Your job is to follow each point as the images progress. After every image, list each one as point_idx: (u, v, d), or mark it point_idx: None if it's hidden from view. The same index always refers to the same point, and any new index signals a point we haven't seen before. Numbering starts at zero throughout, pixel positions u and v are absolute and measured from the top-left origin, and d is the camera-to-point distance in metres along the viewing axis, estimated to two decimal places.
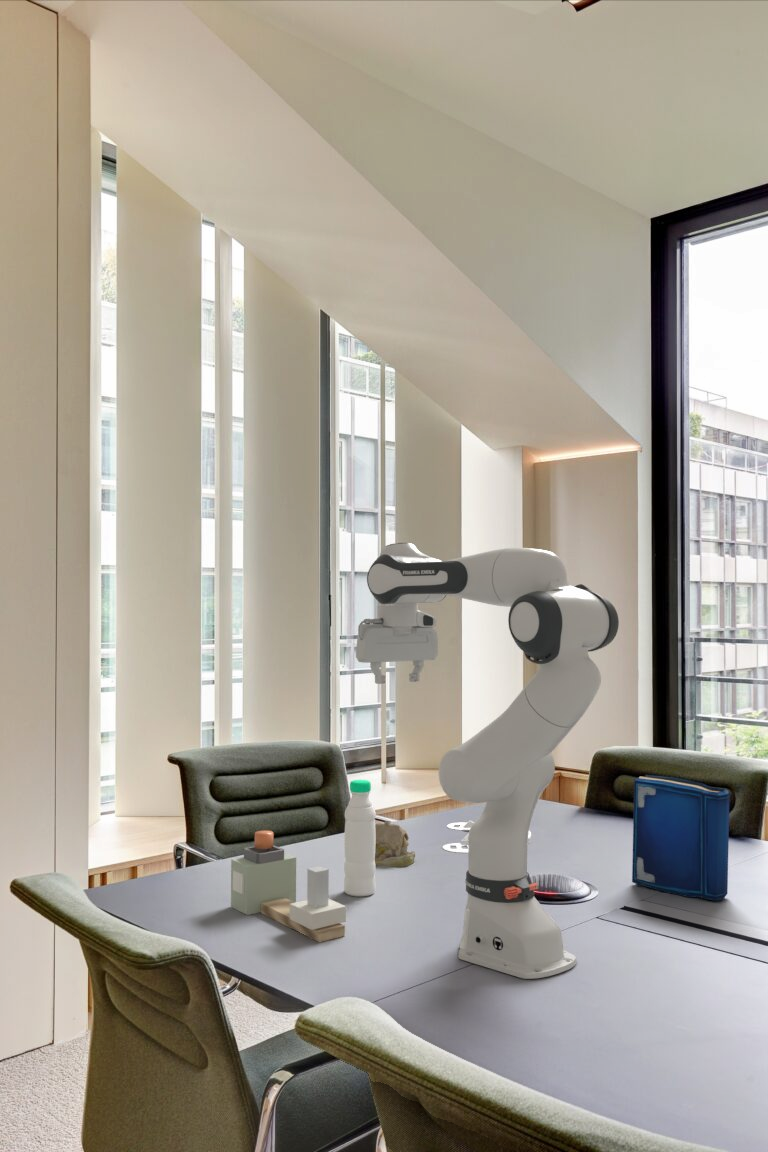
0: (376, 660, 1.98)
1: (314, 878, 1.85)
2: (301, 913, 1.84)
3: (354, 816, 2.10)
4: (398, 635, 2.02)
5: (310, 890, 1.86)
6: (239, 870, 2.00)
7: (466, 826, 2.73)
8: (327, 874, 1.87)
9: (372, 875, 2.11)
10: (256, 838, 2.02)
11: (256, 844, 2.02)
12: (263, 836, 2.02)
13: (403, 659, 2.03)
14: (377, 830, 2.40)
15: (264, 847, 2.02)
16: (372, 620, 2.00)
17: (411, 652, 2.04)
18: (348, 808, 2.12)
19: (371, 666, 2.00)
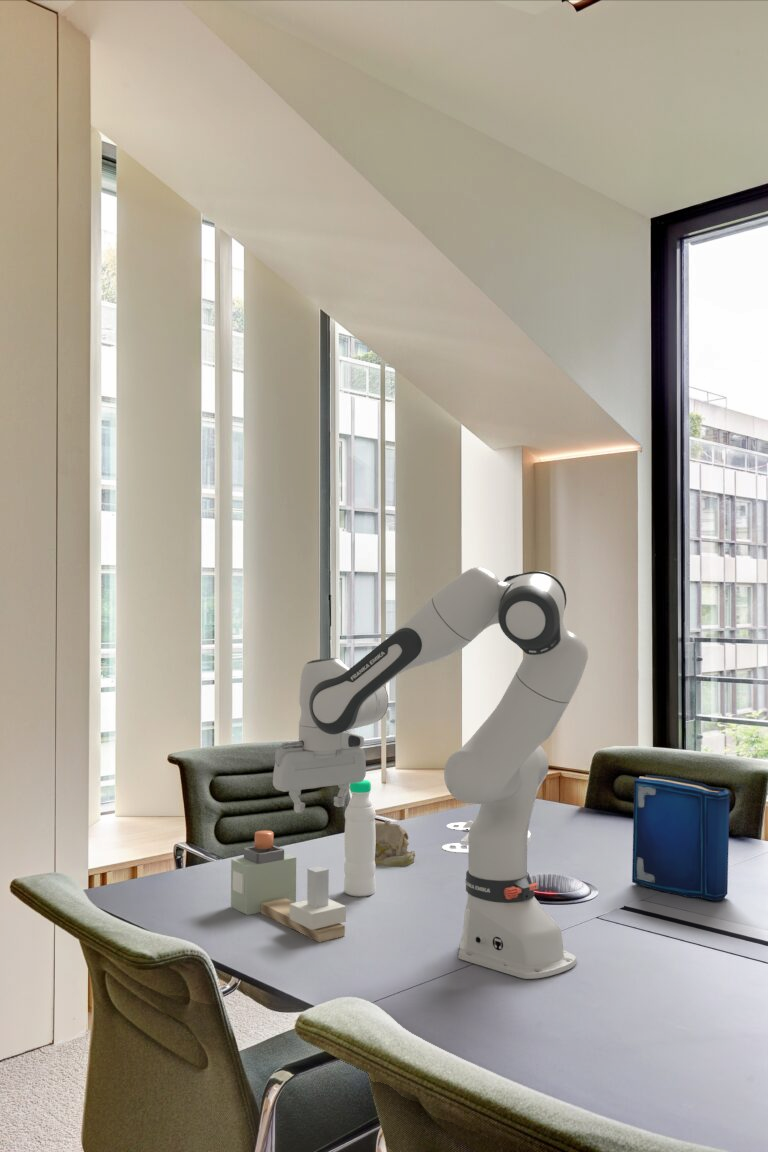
0: (294, 788, 1.82)
1: (314, 878, 1.85)
2: (301, 913, 1.84)
3: (354, 816, 2.10)
4: (320, 759, 1.86)
5: (310, 890, 1.86)
6: (239, 870, 2.00)
7: (465, 826, 2.73)
8: (327, 874, 1.87)
9: (372, 875, 2.11)
10: (256, 838, 2.02)
11: (256, 844, 2.02)
12: (263, 836, 2.02)
13: (325, 784, 1.87)
14: (377, 830, 2.41)
15: (264, 847, 2.02)
16: (291, 744, 1.84)
17: (335, 775, 1.88)
18: (348, 808, 2.12)
19: (290, 793, 1.85)
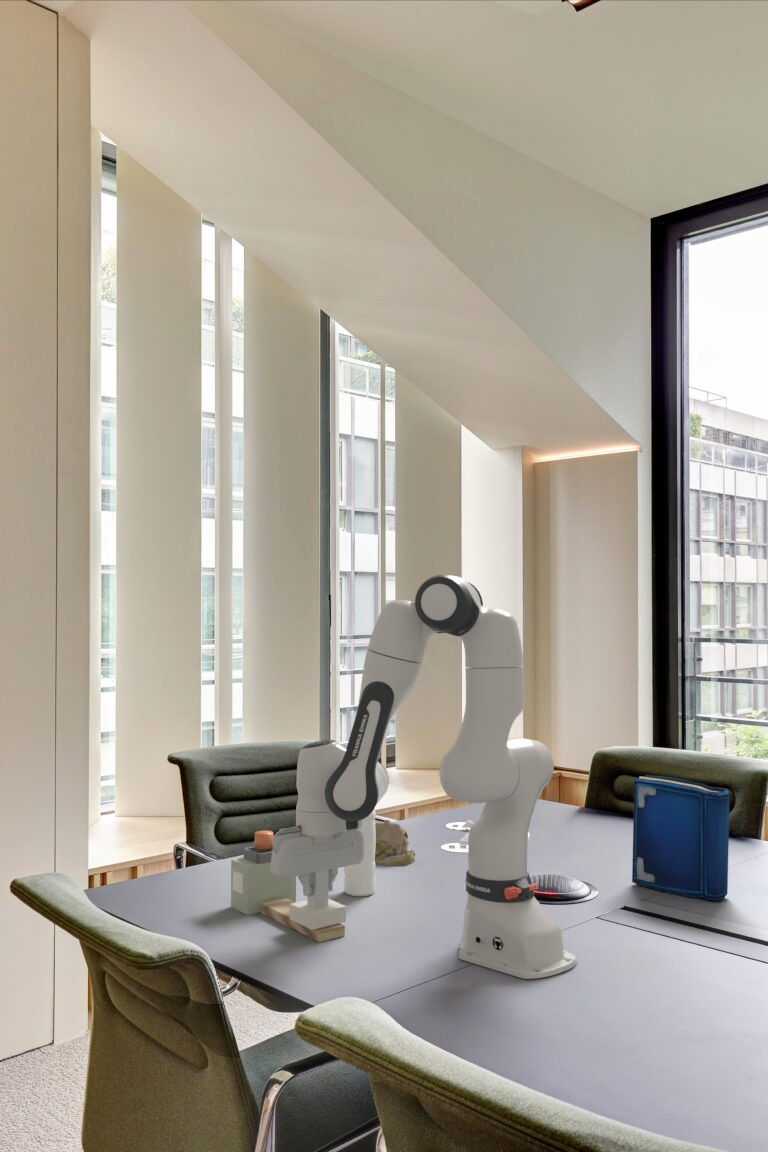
0: (292, 875, 1.81)
1: (314, 878, 1.85)
2: (301, 913, 1.84)
3: None
4: (318, 843, 1.85)
5: None
6: (239, 870, 2.00)
7: (465, 826, 2.73)
8: (327, 874, 1.87)
9: (373, 875, 2.11)
10: (256, 838, 2.02)
11: (256, 844, 2.02)
12: (263, 836, 2.02)
13: (324, 869, 1.86)
14: (377, 829, 2.41)
15: (264, 847, 2.02)
16: (288, 830, 1.83)
17: (333, 859, 1.87)
18: None
19: (299, 877, 1.85)
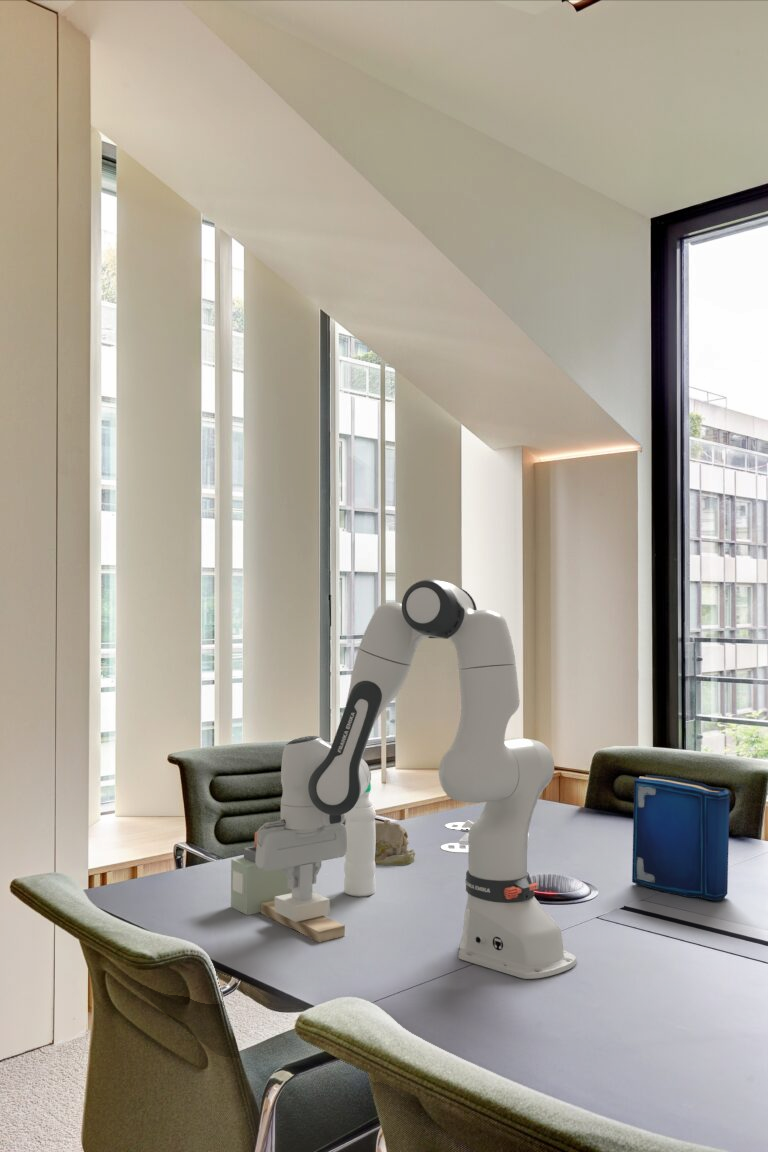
0: (276, 868, 1.86)
1: (298, 872, 1.90)
2: (286, 905, 1.89)
3: (354, 816, 2.10)
4: (302, 837, 1.90)
5: None
6: (239, 870, 2.00)
7: (464, 826, 2.73)
8: (311, 868, 1.91)
9: (372, 875, 2.11)
10: (256, 838, 2.02)
11: (256, 844, 2.02)
12: None
13: (307, 862, 1.90)
14: (377, 829, 2.41)
15: None
16: (273, 823, 1.87)
17: (317, 852, 1.92)
18: None
19: (283, 869, 1.90)
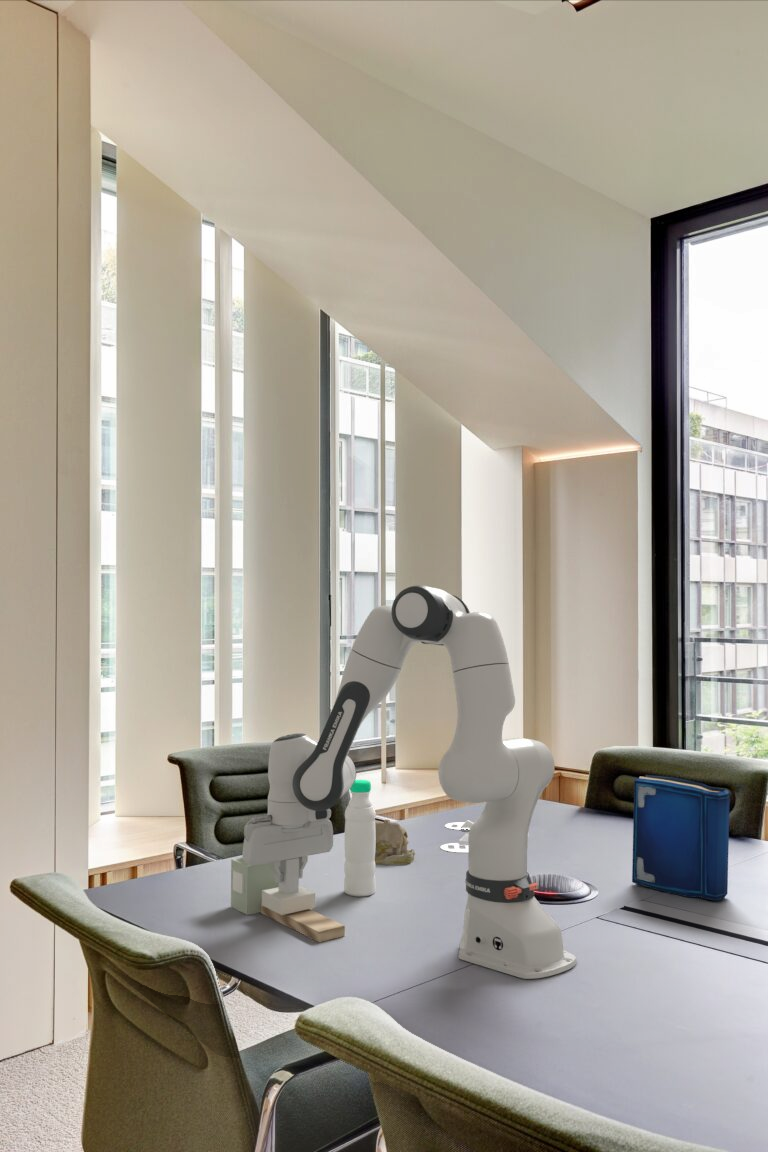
0: (263, 862, 1.90)
1: (285, 866, 1.94)
2: (272, 899, 1.93)
3: (354, 816, 2.10)
4: (288, 832, 1.94)
5: None
6: (239, 870, 2.00)
7: (464, 826, 2.73)
8: (297, 862, 1.95)
9: (373, 875, 2.11)
10: None
11: None
12: None
13: (294, 856, 1.95)
14: (377, 829, 2.42)
15: None
16: (260, 819, 1.91)
17: (303, 847, 1.96)
18: (348, 808, 2.12)
19: (270, 864, 1.94)
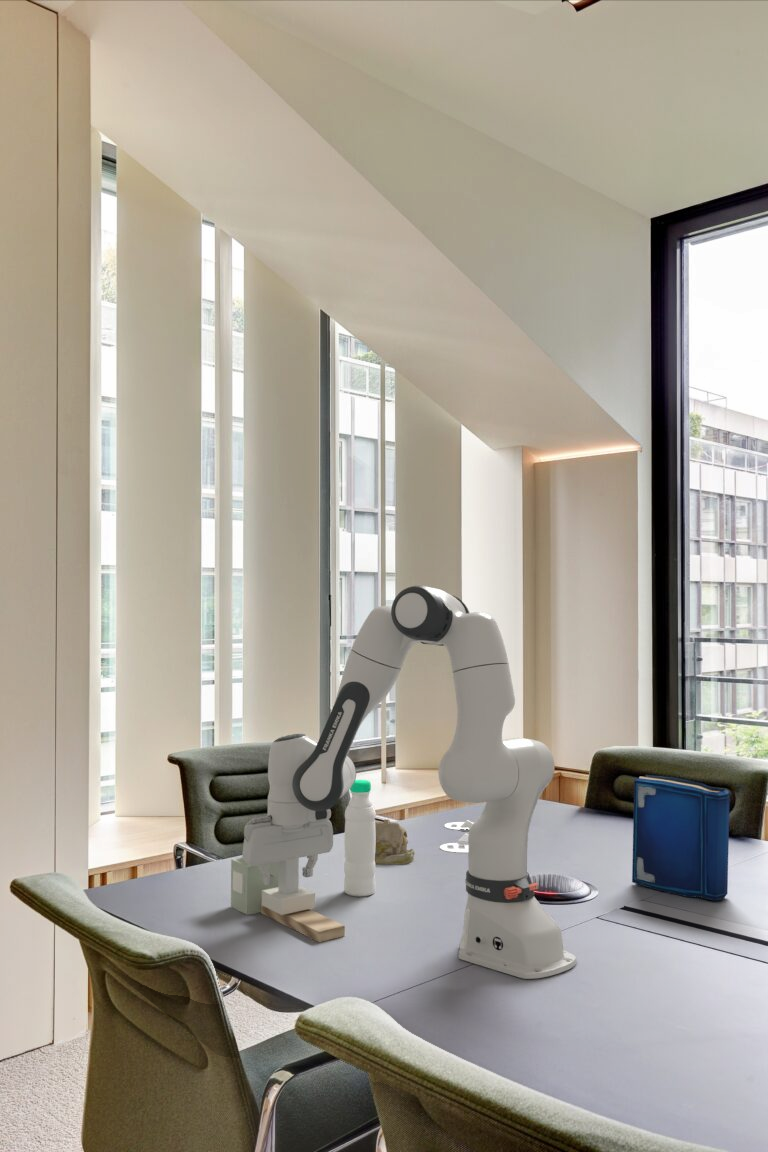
0: (263, 862, 1.90)
1: (285, 866, 1.94)
2: (272, 899, 1.93)
3: (354, 816, 2.10)
4: (288, 832, 1.94)
5: (281, 877, 1.95)
6: (239, 870, 2.00)
7: (463, 826, 2.73)
8: (297, 862, 1.95)
9: (372, 875, 2.11)
10: None
11: None
12: None
13: (294, 857, 1.95)
14: (376, 829, 2.42)
15: None
16: (260, 819, 1.91)
17: (303, 848, 1.96)
18: (348, 808, 2.12)
19: (259, 866, 1.92)
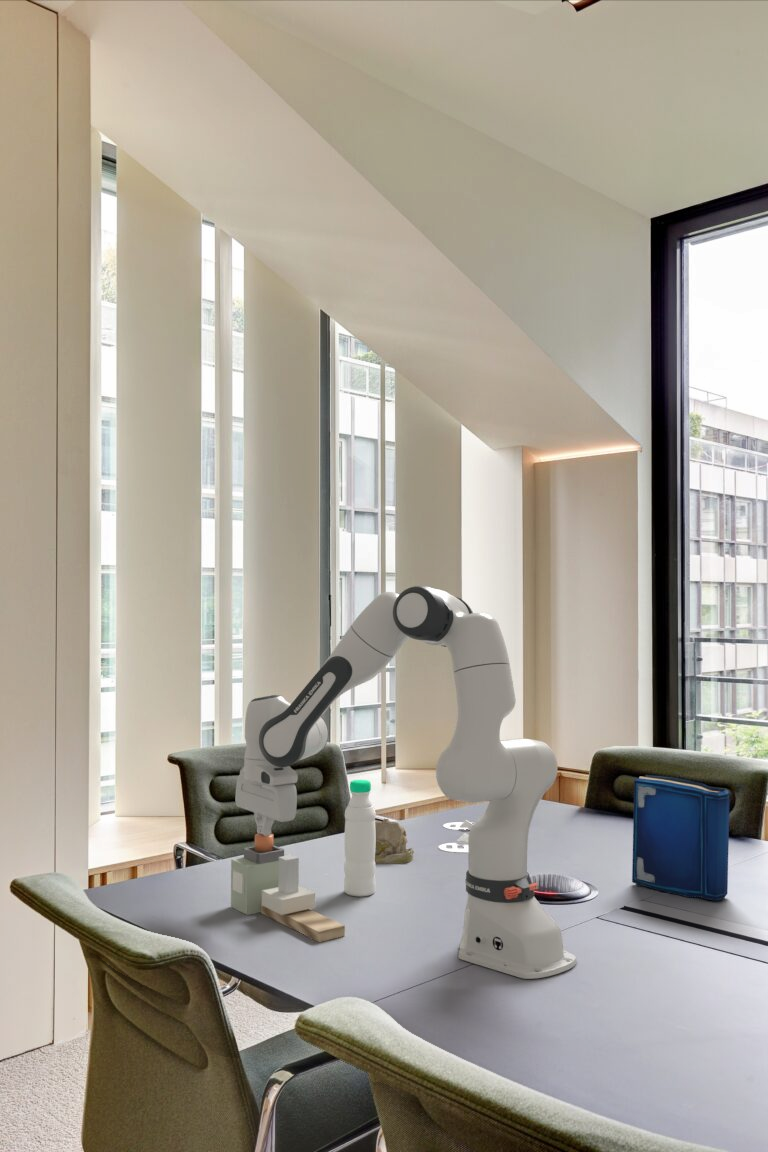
0: (241, 806, 2.09)
1: (285, 866, 1.94)
2: (272, 899, 1.93)
3: (354, 816, 2.10)
4: None
5: (281, 877, 1.95)
6: (239, 870, 2.00)
7: (462, 826, 2.73)
8: (297, 862, 1.95)
9: (372, 875, 2.11)
10: (256, 841, 2.02)
11: (256, 847, 2.02)
12: (263, 839, 2.02)
13: (257, 812, 2.03)
14: (376, 828, 2.42)
15: (264, 850, 2.02)
16: None
17: (263, 807, 2.01)
18: (348, 808, 2.12)
19: None
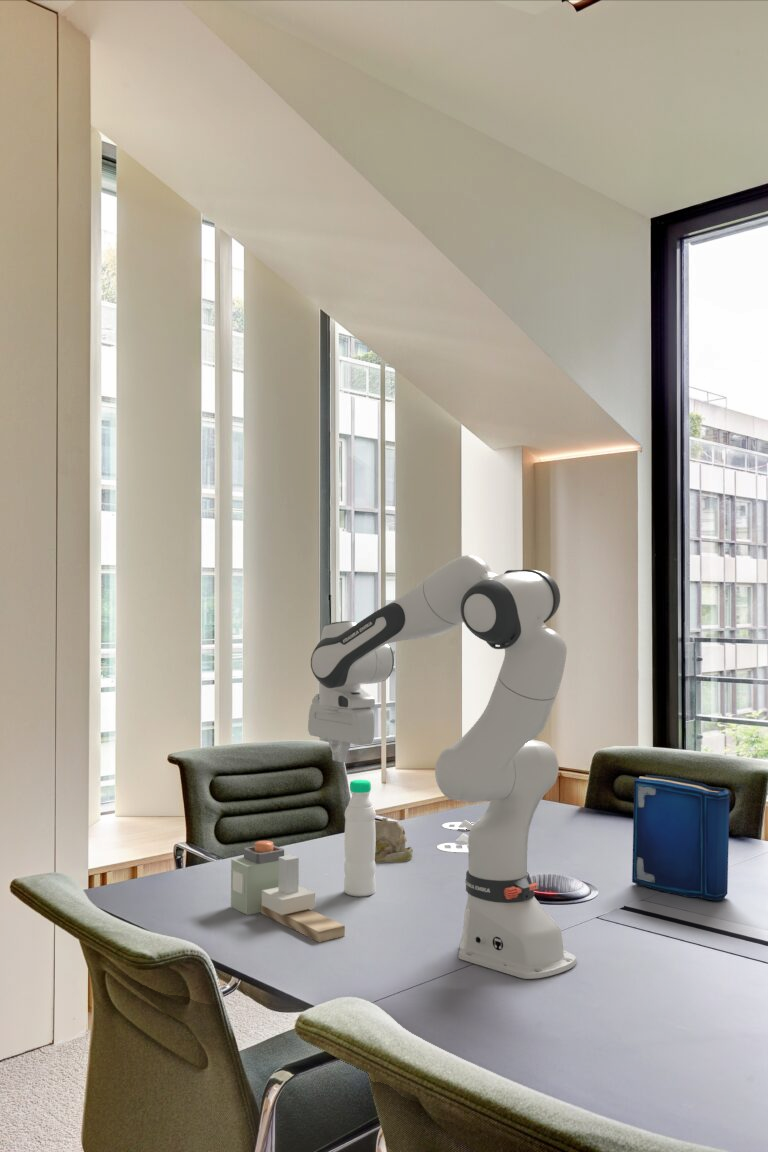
0: (314, 734, 2.08)
1: (285, 866, 1.94)
2: (272, 899, 1.93)
3: (354, 816, 2.10)
4: (330, 713, 2.03)
5: (281, 877, 1.95)
6: (239, 870, 2.00)
7: (461, 826, 2.73)
8: (297, 862, 1.95)
9: (372, 875, 2.11)
10: (256, 848, 2.02)
11: None
12: (263, 846, 2.02)
13: (333, 738, 2.02)
14: (375, 827, 2.43)
15: None
16: None
17: (339, 732, 2.00)
18: (348, 808, 2.12)
19: None
